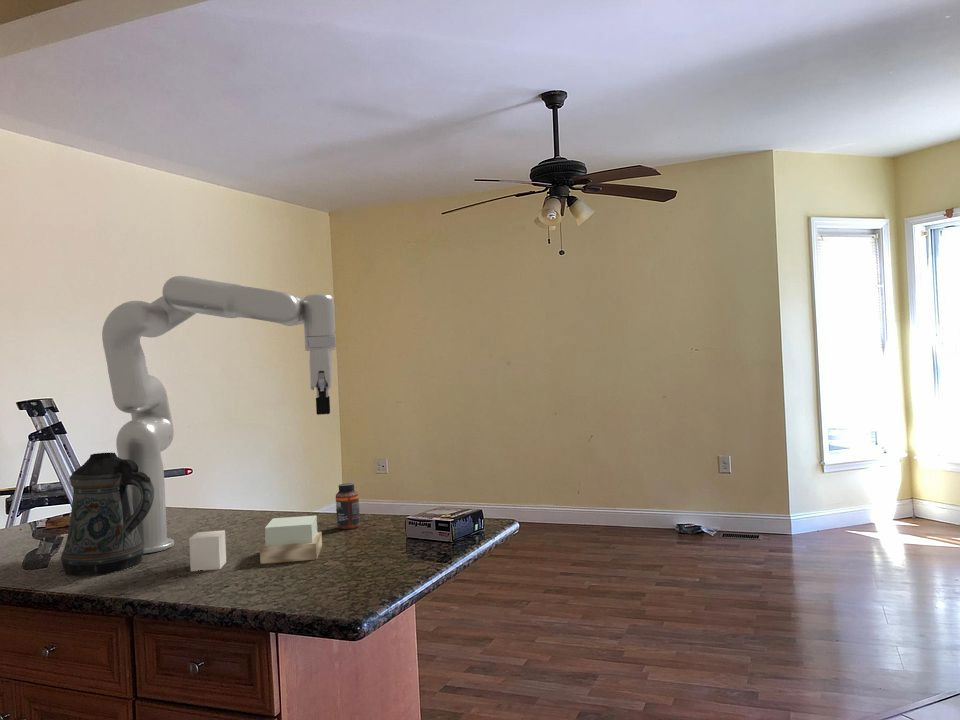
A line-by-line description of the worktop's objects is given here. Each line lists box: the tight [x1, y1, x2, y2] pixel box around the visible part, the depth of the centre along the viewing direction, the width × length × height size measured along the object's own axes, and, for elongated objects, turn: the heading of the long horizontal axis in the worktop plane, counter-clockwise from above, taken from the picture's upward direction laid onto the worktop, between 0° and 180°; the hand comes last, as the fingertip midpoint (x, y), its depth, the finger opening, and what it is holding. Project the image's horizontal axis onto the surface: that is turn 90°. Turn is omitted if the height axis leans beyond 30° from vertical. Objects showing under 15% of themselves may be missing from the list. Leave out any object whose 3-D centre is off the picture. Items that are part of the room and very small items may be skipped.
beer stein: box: [60, 452, 154, 577], centre depth 165 cm, size 16×19×25 cm
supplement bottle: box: [335, 482, 361, 530], centre depth 193 cm, size 6×6×11 cm
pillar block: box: [188, 529, 227, 572], centre depth 160 cm, size 6×6×7 cm
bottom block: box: [259, 531, 323, 565], centre depth 166 cm, size 12×12×4 cm
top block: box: [264, 515, 318, 546], centre depth 167 cm, size 10×10×4 cm
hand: (323, 413), depth 183 cm, fingers open, 9 cm apart
